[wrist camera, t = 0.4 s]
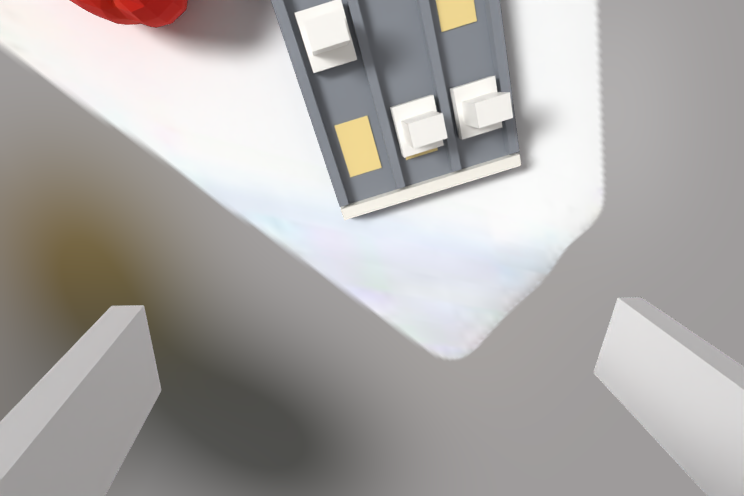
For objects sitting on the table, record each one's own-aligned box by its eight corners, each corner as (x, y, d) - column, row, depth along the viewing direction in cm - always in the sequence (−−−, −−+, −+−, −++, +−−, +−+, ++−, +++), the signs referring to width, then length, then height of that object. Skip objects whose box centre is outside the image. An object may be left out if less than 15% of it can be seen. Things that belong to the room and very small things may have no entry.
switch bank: (260, -38, 28) (255, -47, 26) (473, -105, 28) (484, -120, 26) (344, 215, 36) (345, 222, 34) (510, 164, 36) (521, 168, 34)
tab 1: (295, 15, 28) (290, 3, 24) (340, 1, 28) (342, -13, 24) (313, 73, 30) (311, 71, 26) (356, 60, 30) (360, 56, 26)
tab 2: (389, 107, 31) (398, 110, 27) (430, 94, 31) (444, 95, 27) (401, 155, 33) (412, 164, 29) (440, 143, 33) (455, 151, 29)
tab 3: (449, 88, 31) (466, 88, 27) (490, 76, 31) (513, 74, 27) (458, 138, 33) (476, 144, 29) (497, 126, 33) (520, 131, 29)
